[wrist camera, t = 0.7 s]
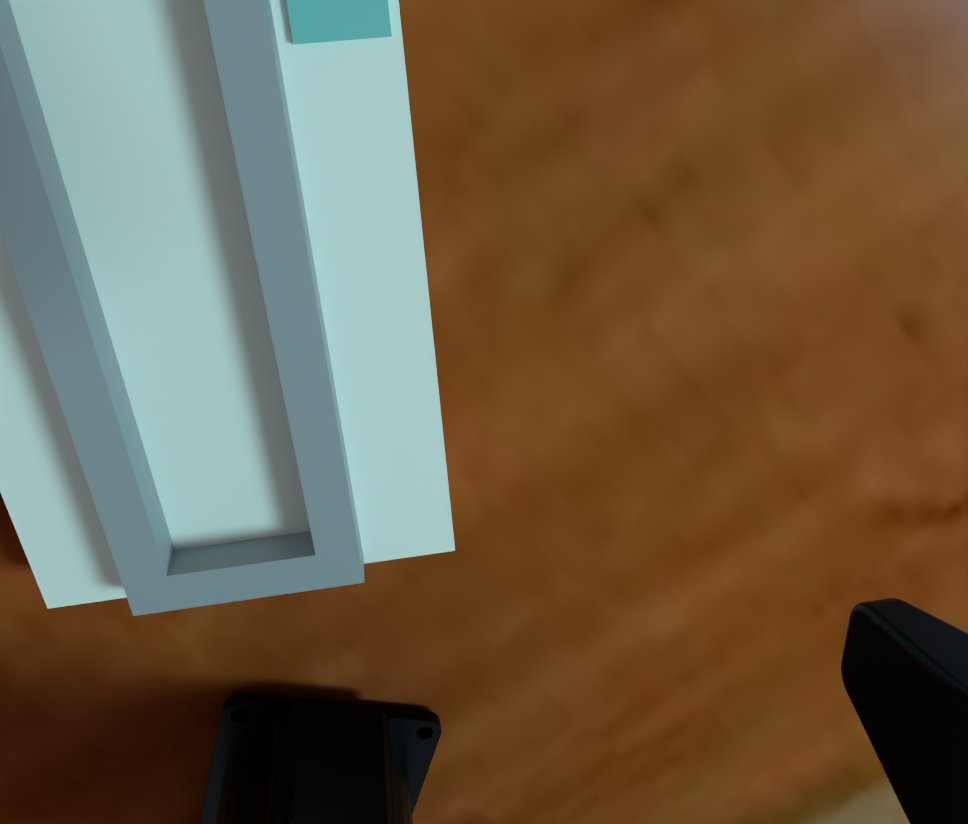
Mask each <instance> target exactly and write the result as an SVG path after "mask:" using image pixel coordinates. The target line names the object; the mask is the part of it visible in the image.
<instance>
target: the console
mask: <svg viewBox="0 0 968 824" xmlns="http://www.w3.org/2000/svg"><path fill="white" fill-rule="evenodd" d="M0 493H1V495H2V498H3V500H4V503H5V505H6V508H7V510H8V512H9V515H10V517H11V520H12V522H13V525H14V527H15V530H16V532H17V535H18V537H19V539H20V542H21V544H22V547H23V549H24V552H25V554H26V557H27V559H28V561H29V564H30V566H31V569H32V571H33V574H34V576H35V579H36V581H37V584H38V586H39V588H40V591H41V593H42V596H43V598H44V601H45V603H46V606H47V608H48V609H49V608H56V607H63V606H70V605H77V604H84V603H91V602H98V601H105V600H112V599H119V598H126V597H127V599H128V602H129V605H130V608H131V611H132V614H133V616H137V615H144V614H151V613H158V612H165V611H172V610H178V609H185V608H192V607H199V606H206V605H213V604H220V603H227V602H234V601H241V600H247V599H254V598H261V597H268V596H275V595H282V594H289V593H296V592H303V591H310V590H317V589H323V588H330V587H337V586H344V585H351V584H358V583H364V564H365V563H372V562H379V561H386V560H393V559H400V558H407V557H414V556H421V555H428V554H435V553H442V552H449V551H455V545H454V535H453V525H452V516H451V506H450V496H449V486H448V477H447V467H446V457H445V448H444V438H443V428H442V418H441V409H440V399H439V389H438V379H437V370H436V360H435V350H434V341H433V331H432V321H431V311H430V302H429V292H428V282H427V273H426V263H425V253H424V243H423V234H422V224H421V214H420V204H419V195H418V185H417V175H416V166H415V156H414V146H413V136H412V127H411V117H410V107H409V97H408V88H407V78H406V68H405V59H404V49H403V39H402V29H401V20H400V10H399V0H0Z"/></svg>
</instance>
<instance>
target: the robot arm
mask: <svg viewBox="0 0 968 824" xmlns="http://www.w3.org/2000/svg"><path fill="white" fill-rule="evenodd" d="M841 673H842V679H843V683H844V686H845V689H846V691H847V693H848V695H849V697H850V700H851V702H852V704H853V706H854V708H855V710H856V712H857V714H858V716H859V718H860V720H861V723H862V725H863V727H864V729H865V731H866V733H867V735H868V737H869V739H870V741H871V743H872V746H873V748H874V750H875V752H876V754H877V756H878V758H879V760H880V762H881V764H882V767H883V769H884V771H885V773H886V775H887V777H888V779H889V781H890V783H891V785H892V787H893V790H894V792H895V794H896V796H897V798H898V800H899V802H900V804H901V806H902V808H903V810H904V812H905V814H906V816H907V818H908V820H909V822H910V824H968V633H966V632H964V631H962V630H960V629H958V628H956V627H954V626H952V625H950V624H948V623H946V622H944V621H942V620H940V619H938V618H936V617H934V616H932V615H930V614H928V613H926V612H924V611H923V610H921V609H919V608H917V607H915V606H913V605H911V604H909V603H907V602H905V601H902V600H900V599H895V598H888V599H881V600H875V601H868V602H862V603H859V604H857V605H856V606H855V607H854V608H853V610H852V611H851V615H850V619H849V625H848V630H847V635H846V641H845V646H844V652H843V657H842V663H841ZM237 710H242V711H246V712H237ZM422 727H428V728H425V729H421V728H422ZM440 735H441V725H440V719H439V717H438V715H436V714H435V713H433V712H429V711H422V710H411V709H401V708H391V707H380V706H370V705H359V704H349V703H338V702H328V701H318V700H307V699H297V698H286V697H276V696H265V695H255V694H245V693H243V694H235V695H232V696H230V697H229V698H228V699H226V701H225V703H224V706H223V711H222V716H221V721H220V725H219V730H218V735H217V740H216V745H215V750H214V755H213V760H212V765H211V770H210V775H209V780H208V785H207V790H206V795H205V800H204V804H203V809H202V814H201V819H200V824H412V813H413V811H414V808H415V805H416V802H417V799H418V797H419V794H420V791H421V788H422V785H423V783H424V780H425V777H426V774H427V771H428V769H429V766H430V763H431V760H432V757H433V755H434V752H435V749H436V746H437V743H438V741H439V738H440Z"/></svg>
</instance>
